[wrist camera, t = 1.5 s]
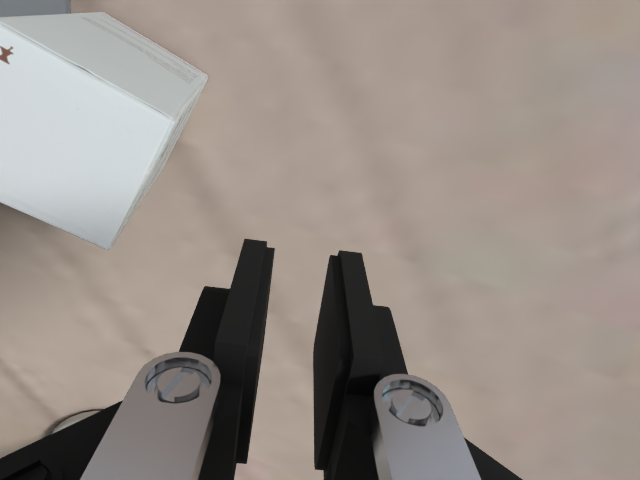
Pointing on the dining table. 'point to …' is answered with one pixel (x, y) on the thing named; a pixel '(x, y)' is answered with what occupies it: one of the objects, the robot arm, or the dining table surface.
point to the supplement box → (86, 119)
